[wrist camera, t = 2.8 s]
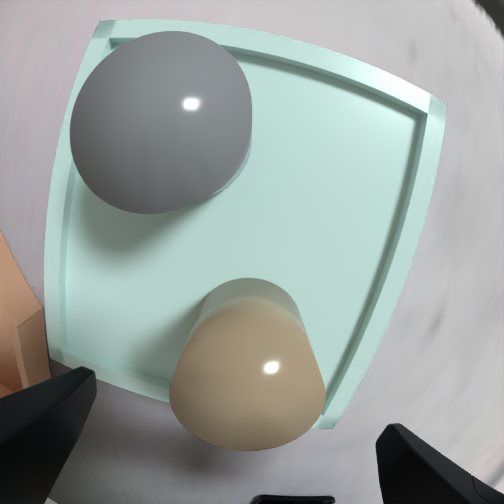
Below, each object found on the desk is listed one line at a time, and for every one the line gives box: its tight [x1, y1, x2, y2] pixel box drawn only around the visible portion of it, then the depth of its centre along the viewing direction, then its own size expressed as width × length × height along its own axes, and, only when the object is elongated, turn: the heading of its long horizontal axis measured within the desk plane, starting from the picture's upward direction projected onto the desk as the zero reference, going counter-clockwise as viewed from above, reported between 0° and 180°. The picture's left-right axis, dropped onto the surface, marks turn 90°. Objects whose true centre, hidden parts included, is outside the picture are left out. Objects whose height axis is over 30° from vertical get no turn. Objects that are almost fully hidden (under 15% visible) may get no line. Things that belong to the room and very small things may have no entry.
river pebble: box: [169, 278, 326, 451], centre depth 10 cm, size 5×5×5 cm
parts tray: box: [44, 19, 447, 429], centre depth 12 cm, size 16×17×1 cm
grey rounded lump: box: [70, 31, 252, 214], centre depth 8 cm, size 5×5×5 cm
